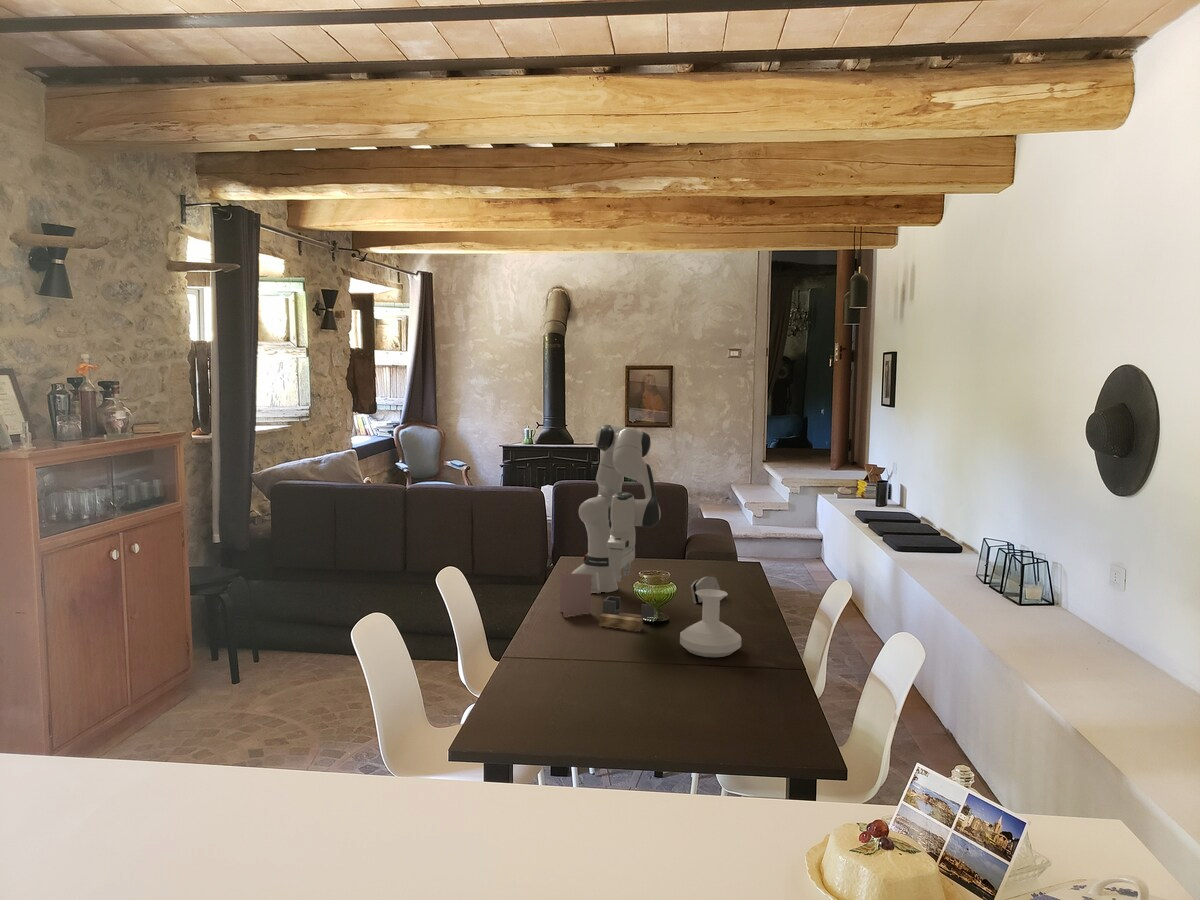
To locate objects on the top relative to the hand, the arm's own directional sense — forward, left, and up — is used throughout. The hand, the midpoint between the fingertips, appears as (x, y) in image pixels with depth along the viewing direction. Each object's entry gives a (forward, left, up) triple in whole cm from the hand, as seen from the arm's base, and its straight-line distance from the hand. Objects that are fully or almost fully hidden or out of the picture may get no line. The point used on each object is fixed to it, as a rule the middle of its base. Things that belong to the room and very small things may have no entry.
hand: (622, 578), depth 288 cm
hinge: (+21, +48, -18) cm, 55 cm away
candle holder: (+34, -14, -18) cm, 41 cm away
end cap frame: (0, +12, -18) cm, 21 cm away
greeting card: (-21, +8, -18) cm, 29 cm away
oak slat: (0, 0, -18) cm, 18 cm away
